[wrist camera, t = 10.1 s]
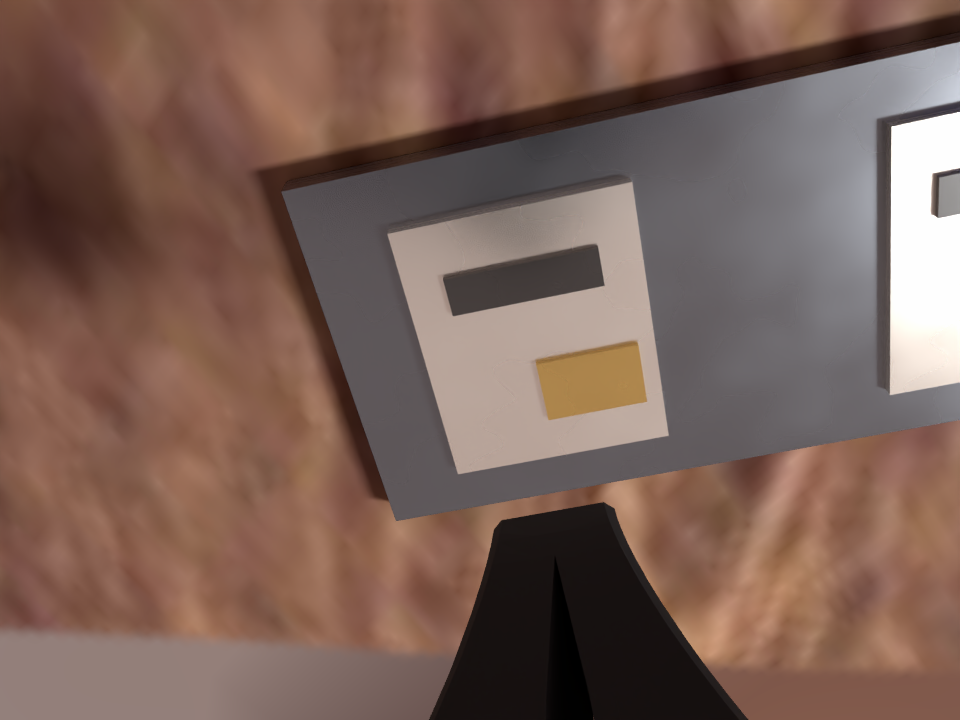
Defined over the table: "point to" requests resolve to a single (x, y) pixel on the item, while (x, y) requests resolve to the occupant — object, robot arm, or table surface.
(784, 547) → the table surface
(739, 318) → the label board
